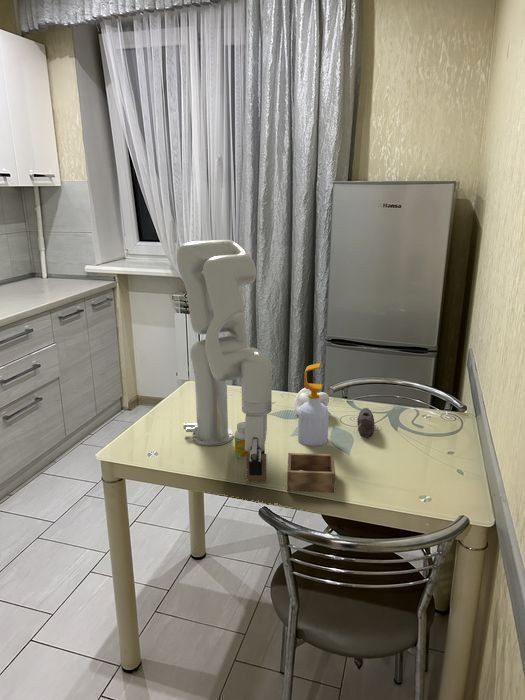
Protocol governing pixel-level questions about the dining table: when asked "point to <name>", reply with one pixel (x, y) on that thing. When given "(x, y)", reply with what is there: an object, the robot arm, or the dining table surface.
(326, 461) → the box
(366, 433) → the perforated stone tool
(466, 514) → the dining table surface
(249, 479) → the lid
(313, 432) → the soap bottle
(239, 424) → the supplement bottle
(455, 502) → the dining table surface
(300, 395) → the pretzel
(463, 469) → the dining table surface
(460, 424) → the dining table surface
